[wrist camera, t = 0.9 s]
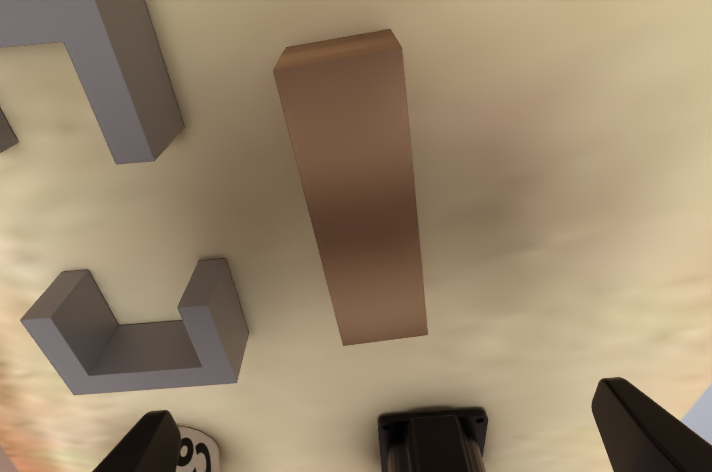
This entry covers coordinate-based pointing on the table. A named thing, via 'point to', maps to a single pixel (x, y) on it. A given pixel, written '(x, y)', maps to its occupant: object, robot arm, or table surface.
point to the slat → (358, 179)
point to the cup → (197, 452)
